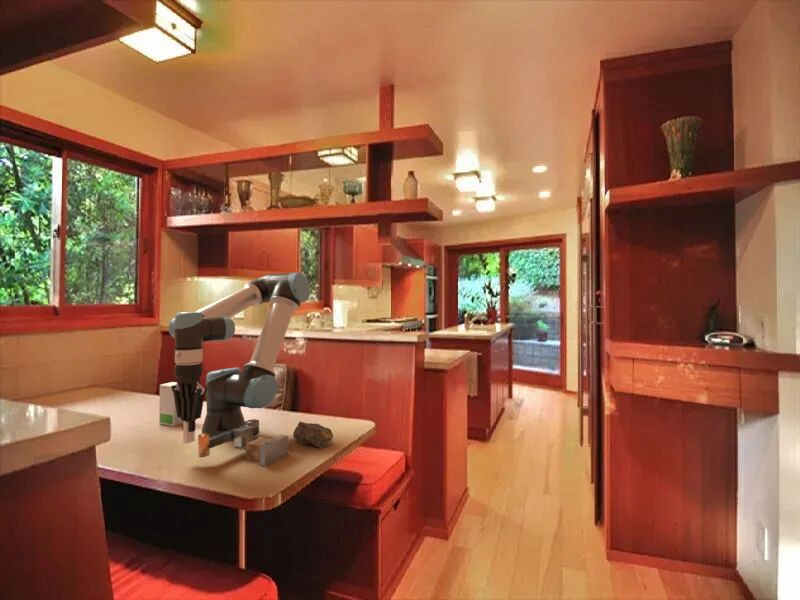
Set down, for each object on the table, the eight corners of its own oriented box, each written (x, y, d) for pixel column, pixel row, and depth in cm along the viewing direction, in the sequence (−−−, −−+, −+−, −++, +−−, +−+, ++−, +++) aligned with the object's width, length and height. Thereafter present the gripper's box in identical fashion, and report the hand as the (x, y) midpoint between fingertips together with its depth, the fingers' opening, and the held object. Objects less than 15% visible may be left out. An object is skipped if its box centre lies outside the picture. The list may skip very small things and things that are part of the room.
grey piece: (214, 455, 135) (214, 436, 135) (252, 439, 150) (252, 422, 149) (265, 466, 126) (264, 445, 126) (300, 448, 140) (300, 430, 140)
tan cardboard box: (246, 459, 132) (246, 443, 132) (260, 452, 137) (260, 437, 137) (258, 461, 130) (258, 445, 130) (272, 455, 135) (272, 439, 135)
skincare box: (158, 424, 169) (158, 384, 169) (173, 419, 176) (172, 381, 175) (174, 426, 166) (173, 386, 166) (188, 421, 172) (187, 382, 172)
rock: (343, 429, 145) (322, 429, 137) (339, 450, 144) (318, 451, 136) (307, 420, 155) (286, 419, 147) (303, 439, 154) (282, 439, 146)
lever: (194, 455, 127) (194, 435, 127) (252, 433, 147) (252, 415, 147) (211, 459, 124) (211, 438, 124) (268, 436, 144) (268, 418, 144)
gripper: (162, 363, 129) (163, 442, 129) (192, 366, 123) (192, 449, 123) (185, 360, 136) (185, 435, 136) (214, 362, 130) (214, 441, 130)
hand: (189, 441), depth 129 cm, fingers closed
